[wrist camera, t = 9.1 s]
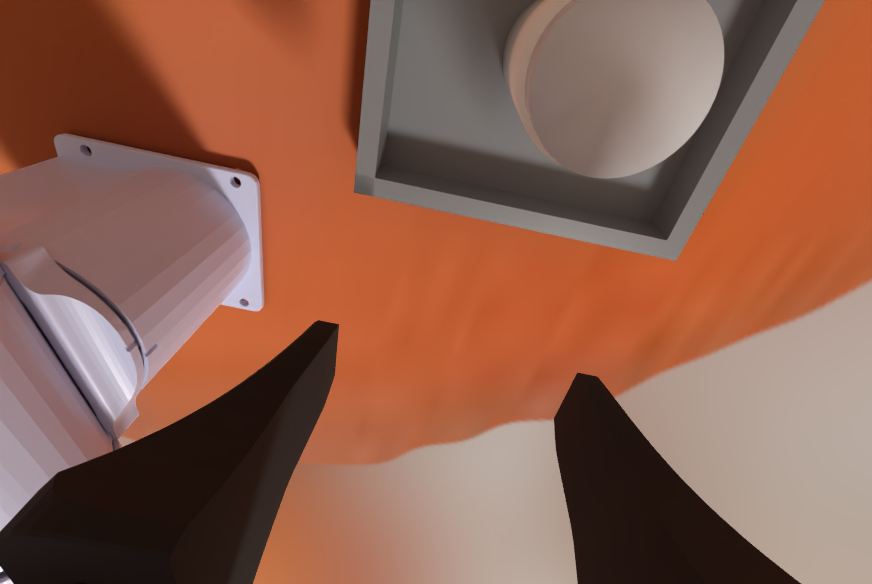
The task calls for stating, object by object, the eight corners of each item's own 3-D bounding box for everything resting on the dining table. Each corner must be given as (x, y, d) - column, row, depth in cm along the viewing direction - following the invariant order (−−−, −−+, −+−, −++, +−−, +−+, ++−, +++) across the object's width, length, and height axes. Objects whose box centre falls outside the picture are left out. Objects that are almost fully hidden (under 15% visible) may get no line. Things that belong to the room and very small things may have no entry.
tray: (367, 174, 20) (353, 192, 18) (404, -196, 13) (391, -238, 11) (655, 236, 20) (675, 260, 18) (827, -93, 14) (890, -115, 12)
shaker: (494, 113, 17) (505, 176, 10) (514, -19, 15) (545, -50, 8) (601, 125, 17) (682, 196, 10) (638, -7, 15) (777, -27, 8)
